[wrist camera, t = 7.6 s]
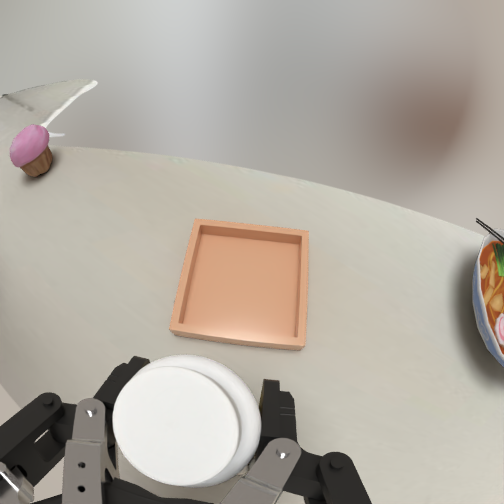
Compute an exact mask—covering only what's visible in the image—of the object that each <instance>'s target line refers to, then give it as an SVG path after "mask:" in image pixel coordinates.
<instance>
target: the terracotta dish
mask: <svg viewBox="0 0 504 504" xmlns="http://www.w3.org/2000/svg"><path fill="white" fill-rule="evenodd" d="M308 244H309V231H305V230H297V229H289V228H280V227H271V226H263V225H253V224H244V223H235V222H225V221H215V220H205V219H195V221H194V225H193V228H192V232H191V236H190V240H189V244H188V248H187V252H186V256H185V260H184V264H183V268H182V272H181V277H180V281H179V285H178V290H177V294H176V299H175V303H174V308H173V313H172V317H171V322H170V327H169V330H170V331H171V332H172V333H173V334H174V335H177V336H183V337H189V338H195V339H202V340H208V341H215V342H222V343H230V344H238V345H246V346H255V347H265V348H275V349H287V350H301V349H302V348H303V347H304V346H305V339H306V320H307V294H308Z"/></svg>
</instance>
